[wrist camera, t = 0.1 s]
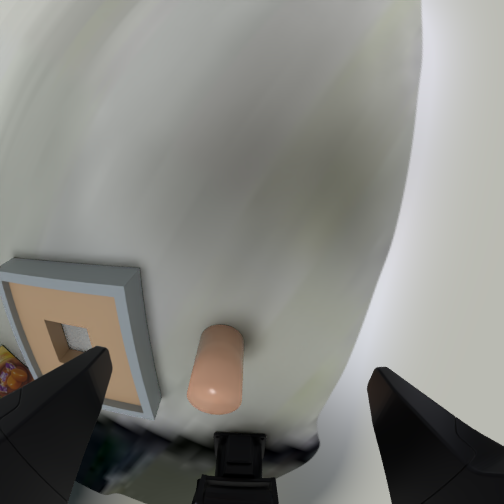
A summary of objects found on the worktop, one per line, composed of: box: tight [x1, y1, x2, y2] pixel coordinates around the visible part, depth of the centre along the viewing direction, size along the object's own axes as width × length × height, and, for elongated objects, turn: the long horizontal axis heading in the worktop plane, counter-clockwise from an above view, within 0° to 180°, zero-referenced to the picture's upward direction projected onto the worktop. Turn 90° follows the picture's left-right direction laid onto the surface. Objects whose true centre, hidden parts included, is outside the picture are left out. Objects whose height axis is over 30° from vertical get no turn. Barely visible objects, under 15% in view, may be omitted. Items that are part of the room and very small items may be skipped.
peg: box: [187, 325, 244, 415], centre depth 22 cm, size 4×4×7 cm
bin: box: [0, 258, 162, 420], centre depth 24 cm, size 16×16×4 cm
